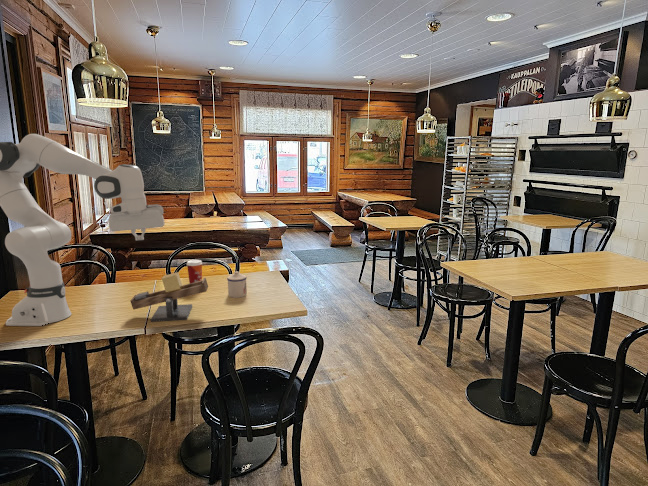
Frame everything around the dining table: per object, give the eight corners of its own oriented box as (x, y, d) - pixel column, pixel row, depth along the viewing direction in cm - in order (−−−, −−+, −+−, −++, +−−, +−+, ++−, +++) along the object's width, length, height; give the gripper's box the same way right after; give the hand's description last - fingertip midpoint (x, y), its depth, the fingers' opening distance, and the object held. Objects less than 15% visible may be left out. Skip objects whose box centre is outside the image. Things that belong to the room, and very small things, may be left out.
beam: (134, 311, 172) (130, 300, 170) (138, 306, 178) (135, 295, 177) (207, 293, 175) (203, 282, 174) (208, 288, 182) (205, 277, 180)
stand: (151, 321, 169) (149, 300, 168) (159, 308, 184) (157, 289, 182) (187, 319, 172) (185, 298, 170) (192, 306, 186) (191, 287, 184)
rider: (167, 296, 174) (161, 278, 172) (169, 293, 178) (163, 275, 176) (181, 292, 174) (176, 275, 172) (183, 289, 179) (178, 272, 177)
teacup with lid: (248, 297, 199) (247, 273, 196) (228, 299, 196) (227, 275, 194) (245, 289, 210) (244, 267, 208) (226, 291, 207) (225, 268, 205)
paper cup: (199, 290, 208) (197, 263, 205) (185, 289, 209) (183, 262, 206) (206, 286, 215) (205, 259, 212) (193, 285, 217) (191, 259, 214)
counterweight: (136, 304, 172) (134, 297, 172) (139, 300, 177) (137, 293, 176) (147, 301, 173) (145, 294, 172) (150, 297, 177) (148, 291, 176)
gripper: (163, 203, 171) (167, 236, 174) (109, 207, 167) (114, 241, 169) (161, 204, 165) (166, 238, 168) (105, 208, 161) (110, 244, 163)
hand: (139, 240), depth 169 cm, fingers closed
